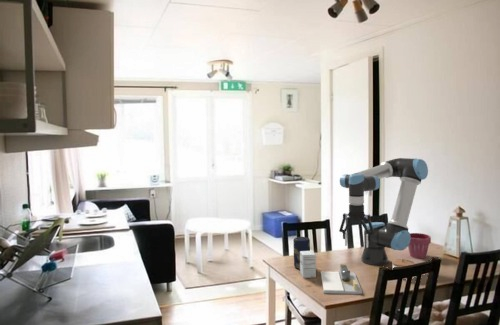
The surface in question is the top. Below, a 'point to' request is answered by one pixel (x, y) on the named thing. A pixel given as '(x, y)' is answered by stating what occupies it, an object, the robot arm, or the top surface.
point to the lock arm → (344, 272)
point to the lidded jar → (401, 263)
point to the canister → (300, 248)
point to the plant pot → (419, 245)
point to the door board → (339, 283)
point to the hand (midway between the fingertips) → (356, 246)
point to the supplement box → (307, 264)
